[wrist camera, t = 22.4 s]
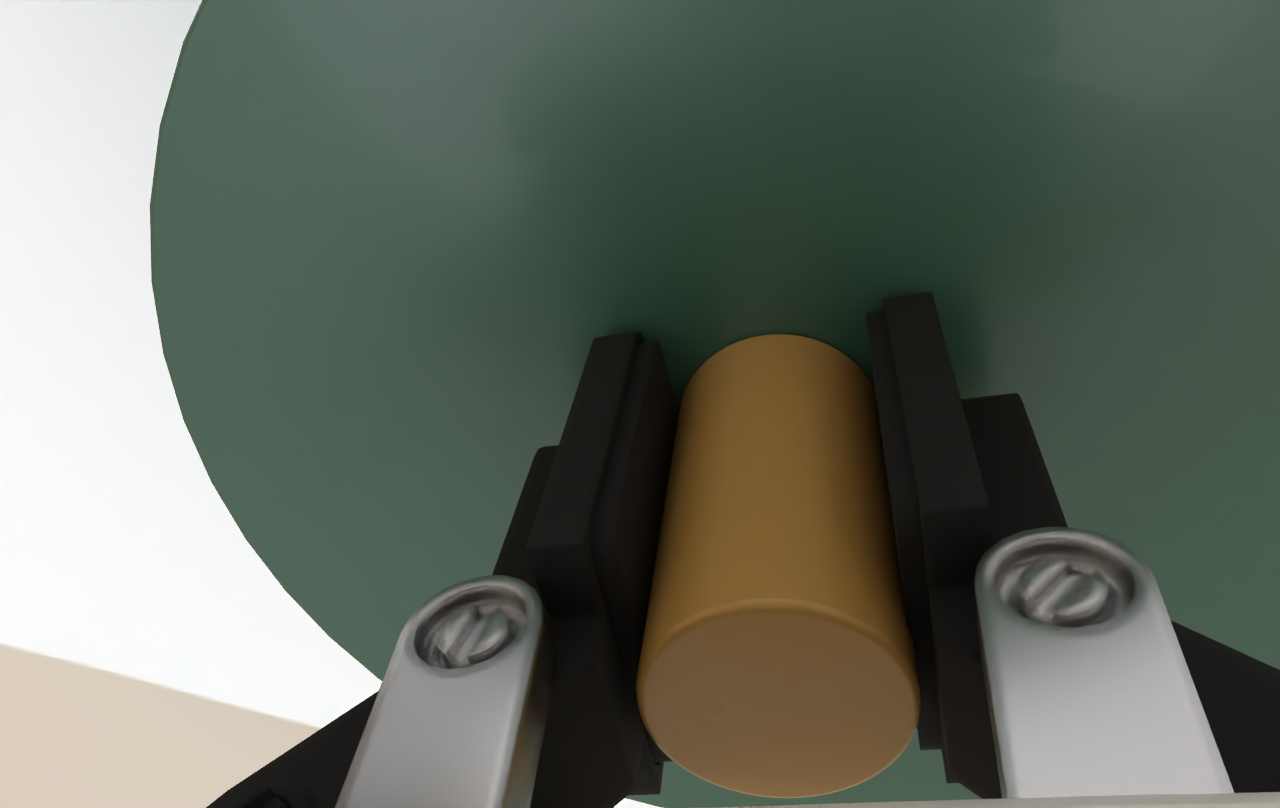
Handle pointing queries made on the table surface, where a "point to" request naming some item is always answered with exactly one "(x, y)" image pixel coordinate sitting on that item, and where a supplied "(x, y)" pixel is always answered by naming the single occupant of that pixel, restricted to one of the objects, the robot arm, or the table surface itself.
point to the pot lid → (727, 313)
